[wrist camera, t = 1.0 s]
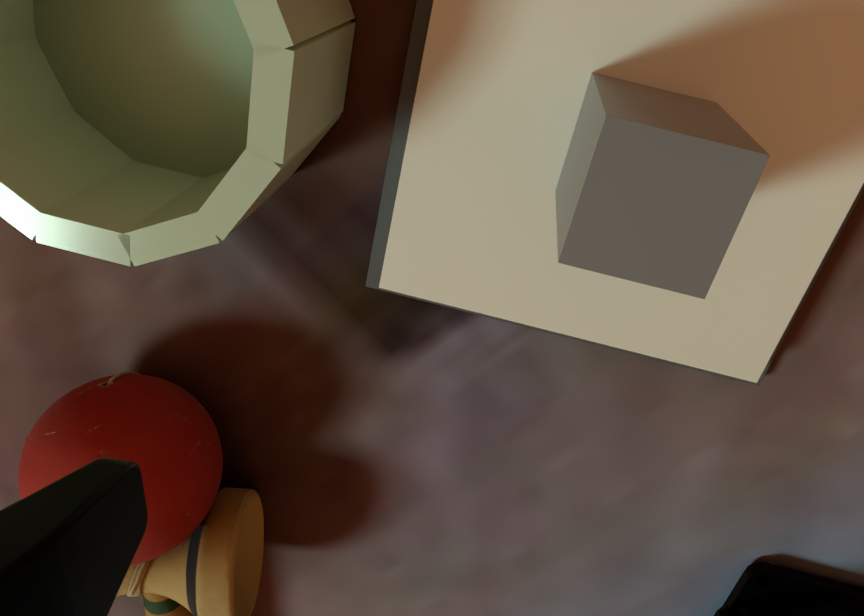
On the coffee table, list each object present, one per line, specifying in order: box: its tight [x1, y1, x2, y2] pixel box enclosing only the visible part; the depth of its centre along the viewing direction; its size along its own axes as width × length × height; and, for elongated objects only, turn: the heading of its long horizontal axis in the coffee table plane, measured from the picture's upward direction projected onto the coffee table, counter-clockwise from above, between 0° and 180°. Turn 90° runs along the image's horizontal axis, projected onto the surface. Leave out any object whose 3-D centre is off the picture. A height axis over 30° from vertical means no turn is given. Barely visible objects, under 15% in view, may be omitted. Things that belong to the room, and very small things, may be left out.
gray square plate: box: [366, 0, 864, 386], centre depth 18 cm, size 12×12×1 cm
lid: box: [379, 0, 864, 383], centre depth 16 cm, size 11×11×5 cm
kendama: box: [18, 371, 264, 616], centre depth 26 cm, size 8×6×18 cm
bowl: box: [0, 0, 356, 266], centre depth 16 cm, size 9×9×5 cm
